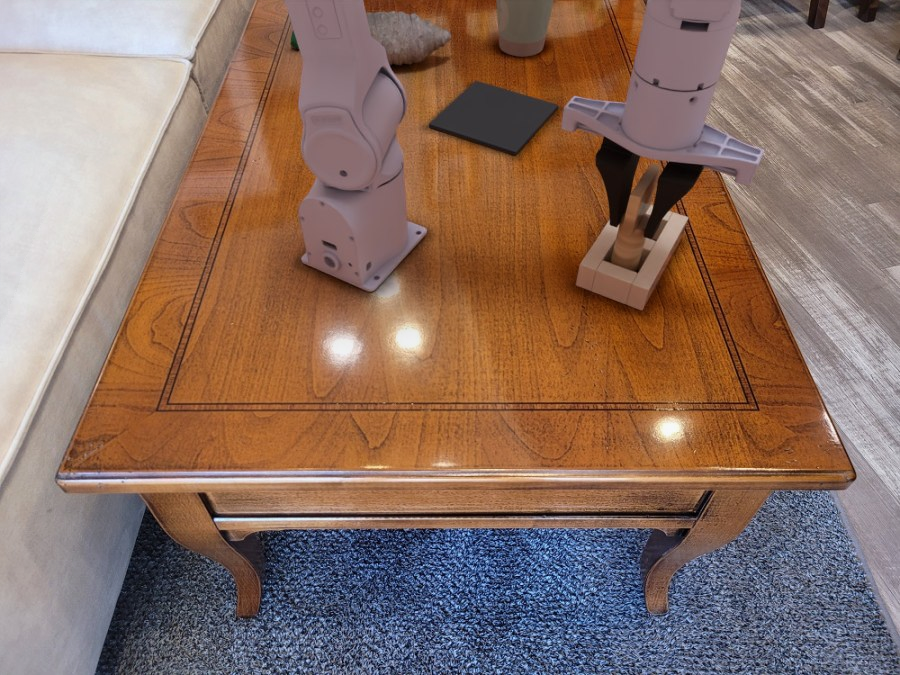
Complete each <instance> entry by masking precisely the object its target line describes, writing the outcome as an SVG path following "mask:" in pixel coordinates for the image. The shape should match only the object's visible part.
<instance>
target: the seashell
mask: <svg viewBox="0 0 900 675" xmlns="http://www.w3.org/2000/svg"><path fill="white" fill-rule="evenodd" d="M366 15H367V20H368V24H369V29H370V33H371V37H372V38H373V39H374V40H376V41H377V42H378V43H380V44H381V45H382V46H383V47H384V48H385V50H386V55H387V59H388V63H389V65H390V66H393V65H395V66H402V65H404V64H405V65H412V64H413V63H415V64H418V63H420V62H424V61H425V59H426V58H427V56H429V55H432V54H433V53H434V52H435V51H437V50H439V49H440V48H442V47H443V48H444V47H445V46H446V45H447V43H448V42H450V41H451V40H452V36H451V31H449V29H448V28H446V29H442V28H441V27H438V26H437V24H433V23H432V22H431V21H430V19H422V18H421V17H420V16H419V15H418V14H417V13H415V12H413V13H411V14H408V13H405V12H404V11H402V10H401V11H398V12H397V11H396V10H393V11H388V12H386V11H376V12H370V11H368V12H366Z"/></svg>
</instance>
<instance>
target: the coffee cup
mask: <svg viewBox="0 0 900 675" xmlns="http://www.w3.org/2000/svg"><path fill="white" fill-rule="evenodd" d="M554 2H555V0H496V14H497V32H498V46H499V49H500V50H501V51H502V52H504V53H505V54H507V55H510V56H512V57H513V56H514V57H522V58H523V57H524V58H525V57H532V56H536V55H537V54H539V53H541V52H542V51H543V49H544V47H545V43H546V37H547V32H548V28H549V24H550V19H551V14H552V10H553V5H554Z"/></svg>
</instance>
